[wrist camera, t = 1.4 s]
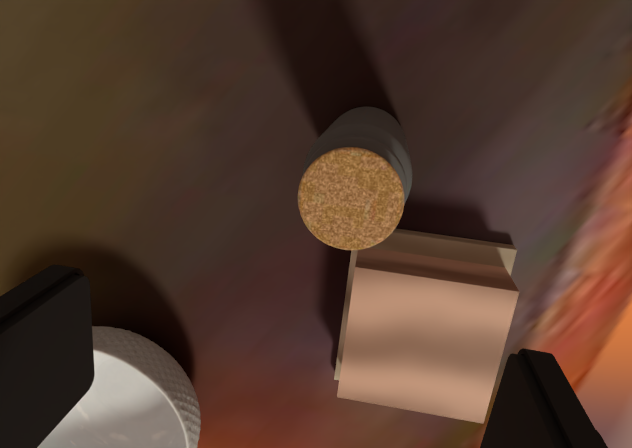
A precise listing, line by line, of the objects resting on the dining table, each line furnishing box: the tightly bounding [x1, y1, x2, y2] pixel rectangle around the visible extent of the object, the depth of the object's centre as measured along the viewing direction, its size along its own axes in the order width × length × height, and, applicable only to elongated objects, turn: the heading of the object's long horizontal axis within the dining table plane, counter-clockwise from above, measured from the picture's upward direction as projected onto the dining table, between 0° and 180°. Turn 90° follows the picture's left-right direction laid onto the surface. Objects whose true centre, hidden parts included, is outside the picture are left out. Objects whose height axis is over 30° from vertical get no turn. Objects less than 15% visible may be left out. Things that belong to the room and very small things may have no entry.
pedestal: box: [334, 228, 519, 423], centre depth 36 cm, size 14×12×5 cm
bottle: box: [298, 107, 412, 250], centre depth 28 cm, size 6×6×15 cm
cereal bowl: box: [37, 326, 201, 448], centre depth 42 cm, size 17×17×7 cm
